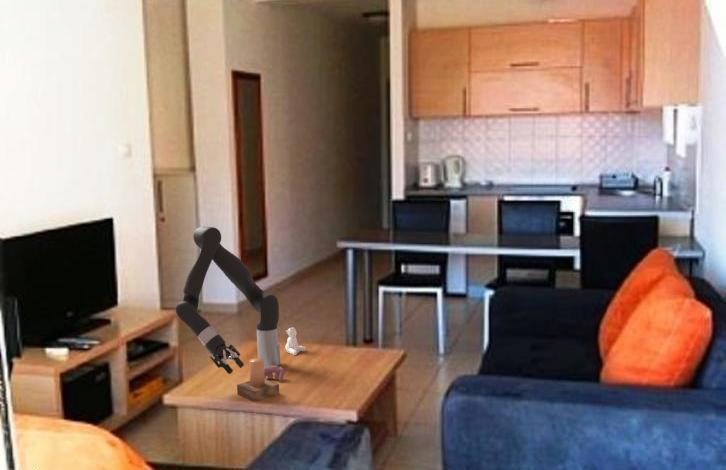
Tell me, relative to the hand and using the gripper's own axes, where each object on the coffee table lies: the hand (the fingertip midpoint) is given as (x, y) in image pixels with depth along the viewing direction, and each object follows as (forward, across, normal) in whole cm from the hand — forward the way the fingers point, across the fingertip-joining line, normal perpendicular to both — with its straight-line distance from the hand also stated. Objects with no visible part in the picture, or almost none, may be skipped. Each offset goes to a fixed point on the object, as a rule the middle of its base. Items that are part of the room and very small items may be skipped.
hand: (237, 369), depth 305 cm
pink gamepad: (+11, +18, +2) cm, 21 cm away
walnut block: (+13, 0, 0) cm, 13 cm away
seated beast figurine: (+4, +57, +10) cm, 58 cm away
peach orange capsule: (+10, 0, -3) cm, 11 cm away
